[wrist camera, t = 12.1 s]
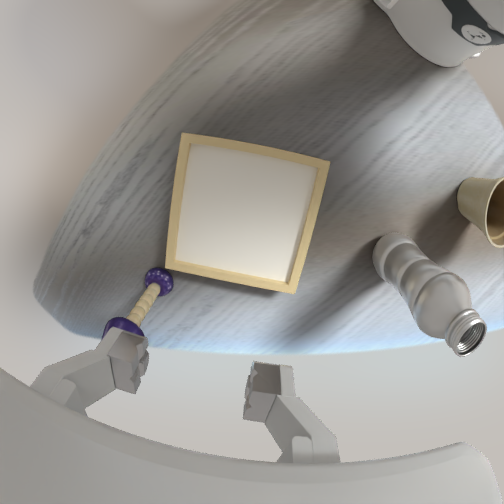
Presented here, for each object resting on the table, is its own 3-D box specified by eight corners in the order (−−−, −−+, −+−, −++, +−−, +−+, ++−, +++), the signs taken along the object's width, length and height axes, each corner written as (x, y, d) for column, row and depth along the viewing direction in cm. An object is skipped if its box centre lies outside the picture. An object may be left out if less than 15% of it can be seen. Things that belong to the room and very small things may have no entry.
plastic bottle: (379, 281, 37) (446, 381, 18) (359, 244, 35) (434, 339, 16) (415, 256, 35) (499, 339, 16) (397, 218, 33) (495, 289, 15)
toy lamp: (159, 259, 37) (101, 331, 21) (184, 282, 38) (140, 365, 22) (140, 279, 38) (83, 353, 23) (163, 301, 39) (118, 382, 24)
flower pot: (484, 228, 33) (518, 247, 25) (444, 227, 33) (479, 249, 25) (490, 170, 29) (528, 181, 21) (450, 163, 30) (489, 172, 22)
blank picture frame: (190, 133, 31) (181, 132, 27) (323, 159, 31) (330, 161, 28) (174, 256, 37) (165, 267, 33) (292, 279, 37) (294, 294, 34)
